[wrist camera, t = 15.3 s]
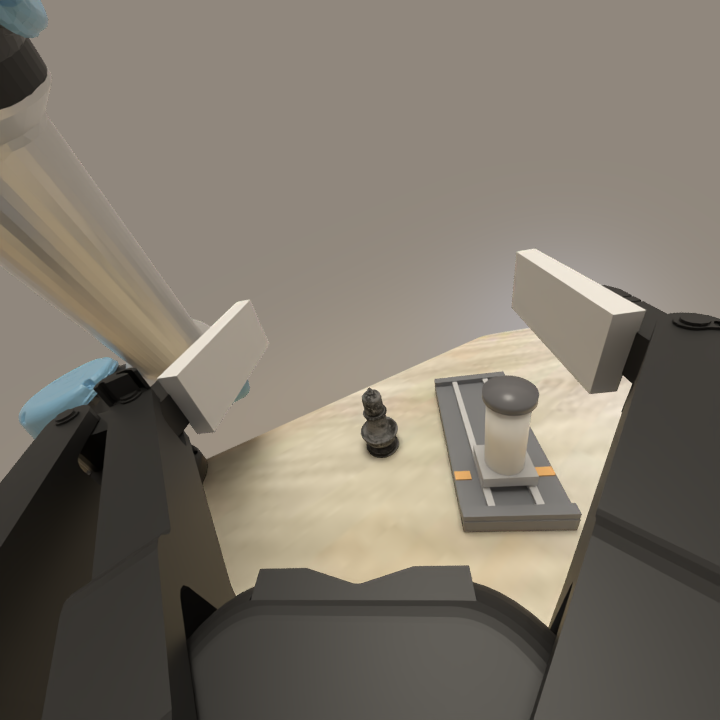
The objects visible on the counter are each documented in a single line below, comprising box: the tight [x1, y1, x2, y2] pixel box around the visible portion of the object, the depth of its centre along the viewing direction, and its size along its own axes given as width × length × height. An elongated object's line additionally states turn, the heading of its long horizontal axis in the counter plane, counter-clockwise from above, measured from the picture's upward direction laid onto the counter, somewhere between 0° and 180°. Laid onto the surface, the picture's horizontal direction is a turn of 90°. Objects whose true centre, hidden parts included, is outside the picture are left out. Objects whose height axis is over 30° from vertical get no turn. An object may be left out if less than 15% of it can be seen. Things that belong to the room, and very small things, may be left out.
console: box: [435, 372, 582, 532], centre depth 43 cm, size 12×26×3 cm, turn 175°
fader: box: [473, 376, 539, 487], centre depth 33 cm, size 6×5×13 cm
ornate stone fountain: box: [361, 388, 399, 458], centre depth 45 cm, size 6×6×12 cm
